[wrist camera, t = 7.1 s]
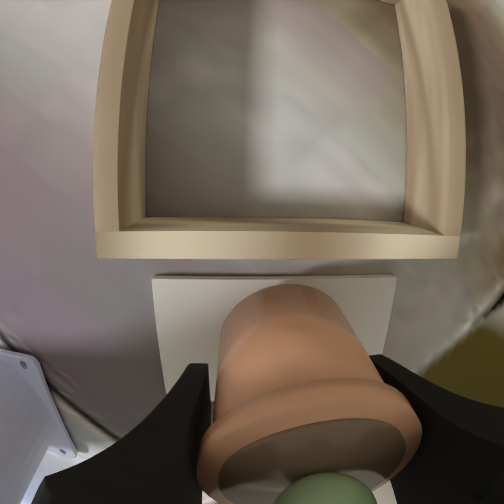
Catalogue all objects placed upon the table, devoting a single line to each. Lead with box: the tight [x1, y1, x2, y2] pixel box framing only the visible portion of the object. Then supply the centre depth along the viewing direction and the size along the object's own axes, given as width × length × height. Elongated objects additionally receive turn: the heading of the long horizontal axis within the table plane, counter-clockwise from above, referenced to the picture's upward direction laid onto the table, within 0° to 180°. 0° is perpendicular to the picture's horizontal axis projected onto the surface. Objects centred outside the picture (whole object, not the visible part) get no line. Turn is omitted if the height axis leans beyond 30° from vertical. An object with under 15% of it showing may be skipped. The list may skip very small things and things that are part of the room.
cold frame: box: [93, 0, 466, 259], centre depth 9 cm, size 12×12×3 cm
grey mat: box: [152, 274, 397, 401], centre depth 13 cm, size 10×6×1 cm, turn 89°
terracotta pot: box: [197, 284, 422, 504], centre depth 8 cm, size 6×6×8 cm
